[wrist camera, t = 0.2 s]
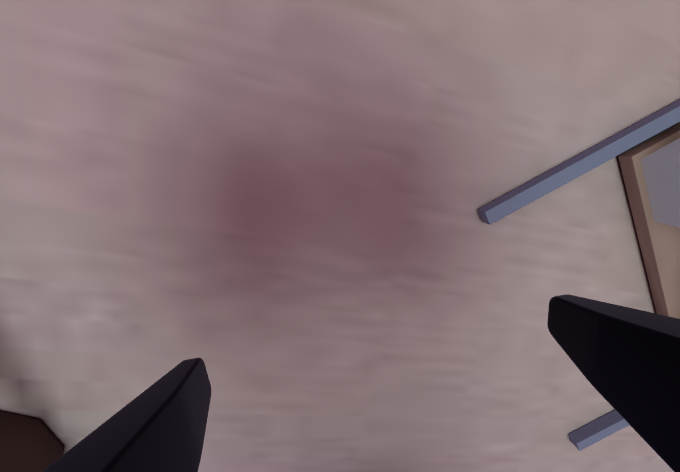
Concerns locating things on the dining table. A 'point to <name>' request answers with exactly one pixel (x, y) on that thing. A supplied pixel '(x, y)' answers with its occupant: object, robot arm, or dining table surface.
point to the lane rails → (563, 175)
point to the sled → (654, 227)
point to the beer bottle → (26, 444)
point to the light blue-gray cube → (664, 183)
